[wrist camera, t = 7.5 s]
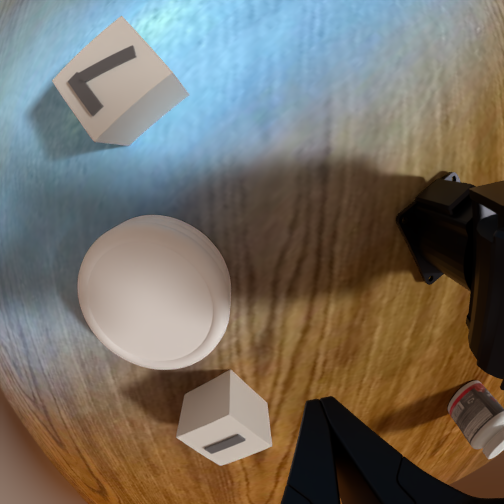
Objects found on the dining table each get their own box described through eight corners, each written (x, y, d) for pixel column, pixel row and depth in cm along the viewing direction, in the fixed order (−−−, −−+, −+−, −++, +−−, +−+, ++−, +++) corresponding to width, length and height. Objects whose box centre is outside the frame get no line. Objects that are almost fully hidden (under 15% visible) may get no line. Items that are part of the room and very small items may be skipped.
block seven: (189, 95, 16) (171, 71, 11) (129, 146, 17) (92, 141, 12) (147, 46, 15) (120, 14, 10) (91, 95, 16) (50, 80, 11)
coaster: (126, 187, 18) (103, 192, 14) (258, 259, 20) (262, 279, 16) (82, 304, 20) (61, 326, 17) (193, 364, 22) (187, 394, 19)
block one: (267, 402, 23) (272, 448, 18) (222, 423, 24) (220, 467, 19) (230, 368, 22) (229, 416, 17) (184, 393, 23) (175, 439, 18)
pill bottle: (484, 384, 25) (523, 430, 16) (456, 414, 27) (490, 464, 17) (470, 374, 24) (515, 426, 15) (439, 408, 26) (476, 464, 16)
